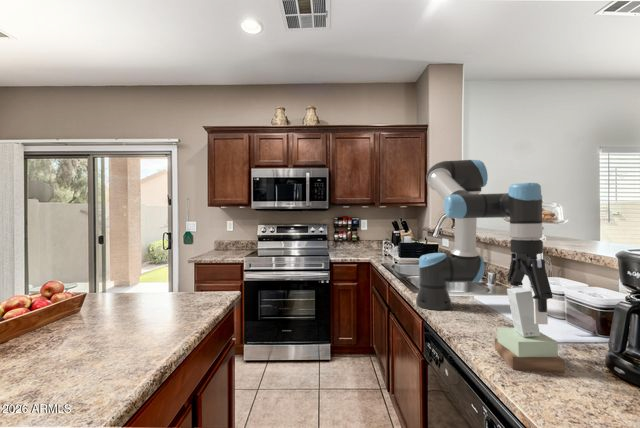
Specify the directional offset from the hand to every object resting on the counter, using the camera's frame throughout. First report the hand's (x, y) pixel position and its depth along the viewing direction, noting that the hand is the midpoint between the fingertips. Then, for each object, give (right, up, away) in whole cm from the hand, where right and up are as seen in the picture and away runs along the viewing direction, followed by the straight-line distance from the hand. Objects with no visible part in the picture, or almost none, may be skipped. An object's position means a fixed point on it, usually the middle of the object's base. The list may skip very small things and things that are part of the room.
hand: (528, 315), depth 84 cm
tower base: (0, -13, 0) cm, 13 cm away
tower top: (-1, -9, 0) cm, 9 cm away
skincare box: (0, -5, 0) cm, 5 cm away
